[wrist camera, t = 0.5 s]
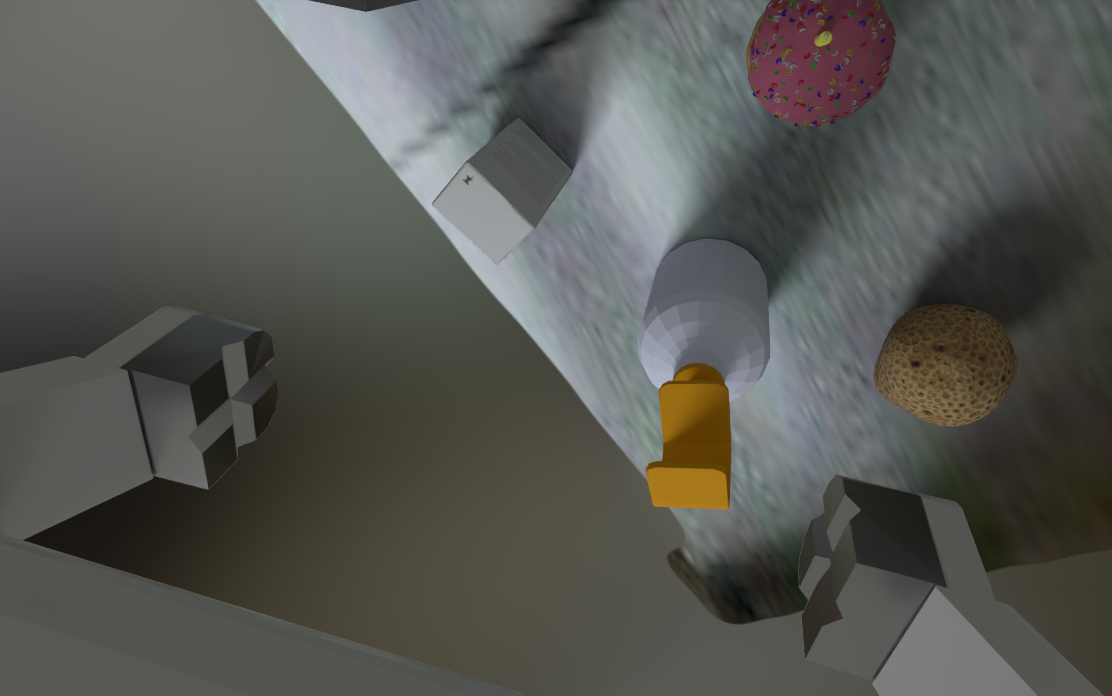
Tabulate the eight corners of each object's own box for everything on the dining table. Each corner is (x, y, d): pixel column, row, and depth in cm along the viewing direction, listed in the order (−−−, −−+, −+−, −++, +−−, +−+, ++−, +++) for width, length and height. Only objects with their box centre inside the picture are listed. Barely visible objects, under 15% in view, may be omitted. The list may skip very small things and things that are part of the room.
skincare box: (485, 153, 56) (427, 203, 46) (519, 114, 54) (466, 157, 44) (540, 208, 57) (496, 268, 47) (576, 172, 55) (537, 226, 45)
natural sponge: (1021, 295, 52) (1072, 366, 44) (960, 391, 57) (996, 471, 48) (897, 262, 53) (924, 325, 44) (847, 358, 58) (864, 432, 49)
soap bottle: (766, 232, 54) (776, 420, 33) (767, 337, 58) (777, 560, 38) (648, 239, 56) (590, 418, 36) (658, 339, 61) (611, 550, 40)
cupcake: (736, -6, 47) (733, 13, 36) (877, -48, 44) (915, -40, 34) (757, 124, 50) (759, 173, 40) (888, 93, 47) (925, 138, 37)
